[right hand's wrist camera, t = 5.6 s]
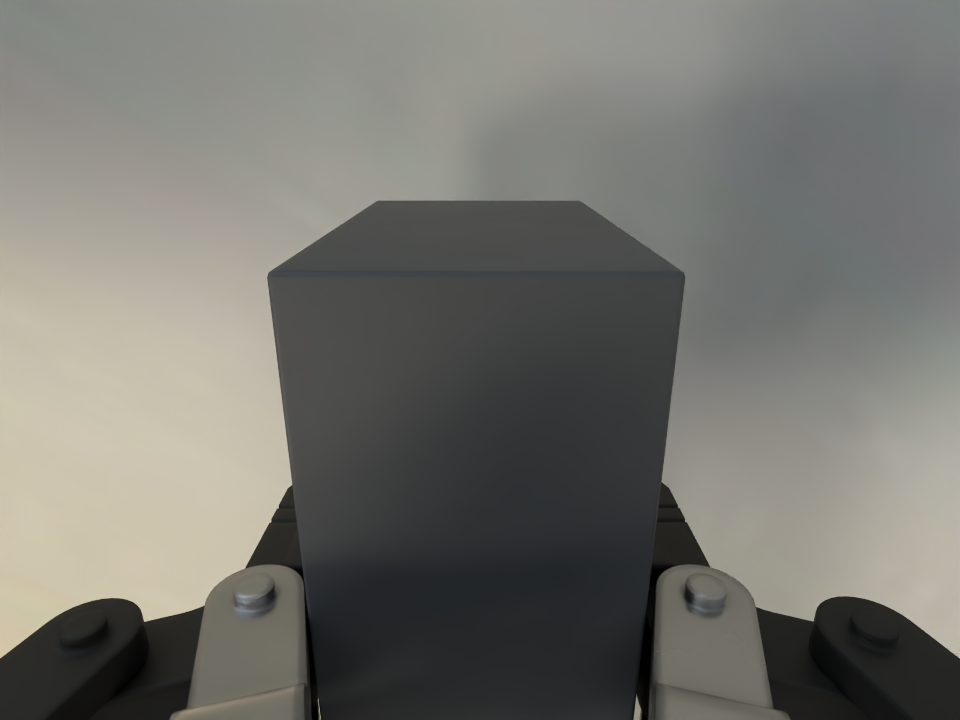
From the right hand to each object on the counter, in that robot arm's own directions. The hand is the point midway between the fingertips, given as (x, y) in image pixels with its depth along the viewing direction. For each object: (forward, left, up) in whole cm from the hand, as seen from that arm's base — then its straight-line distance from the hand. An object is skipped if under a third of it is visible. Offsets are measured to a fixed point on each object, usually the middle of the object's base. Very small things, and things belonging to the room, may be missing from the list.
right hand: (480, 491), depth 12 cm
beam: (-17, -29, -2) cm, 33 cm away
